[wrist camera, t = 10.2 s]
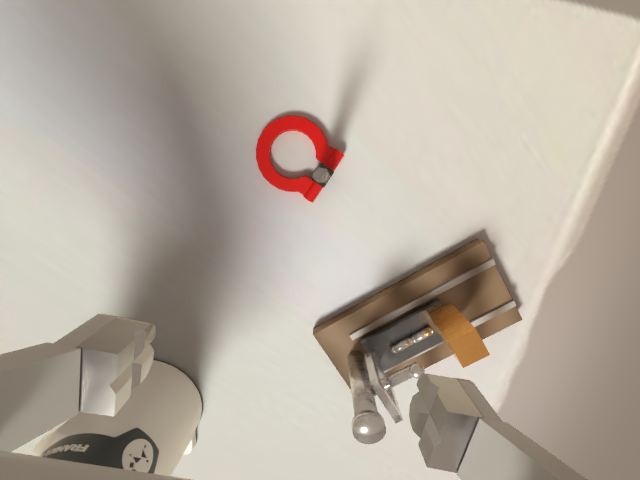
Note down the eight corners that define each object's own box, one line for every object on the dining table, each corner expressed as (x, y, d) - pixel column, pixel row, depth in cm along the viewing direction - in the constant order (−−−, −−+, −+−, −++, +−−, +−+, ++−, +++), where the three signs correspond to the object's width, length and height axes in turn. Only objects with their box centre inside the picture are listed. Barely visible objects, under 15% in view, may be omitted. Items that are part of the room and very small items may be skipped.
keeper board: (357, 393, 42) (359, 403, 41) (313, 328, 40) (313, 335, 38) (514, 313, 39) (523, 320, 38) (477, 238, 37) (485, 242, 35)
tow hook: (245, 165, 36) (309, 208, 36) (197, 158, 23) (297, 224, 24) (282, 102, 34) (349, 149, 35) (253, 57, 21) (358, 132, 22)
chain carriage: (379, 368, 39) (395, 423, 31) (359, 338, 38) (370, 386, 30) (462, 326, 38) (502, 371, 29) (444, 293, 37) (481, 331, 28)
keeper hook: (351, 373, 40) (362, 449, 29) (339, 355, 39) (346, 425, 29) (411, 342, 39) (446, 409, 28) (400, 323, 38) (430, 384, 27)
